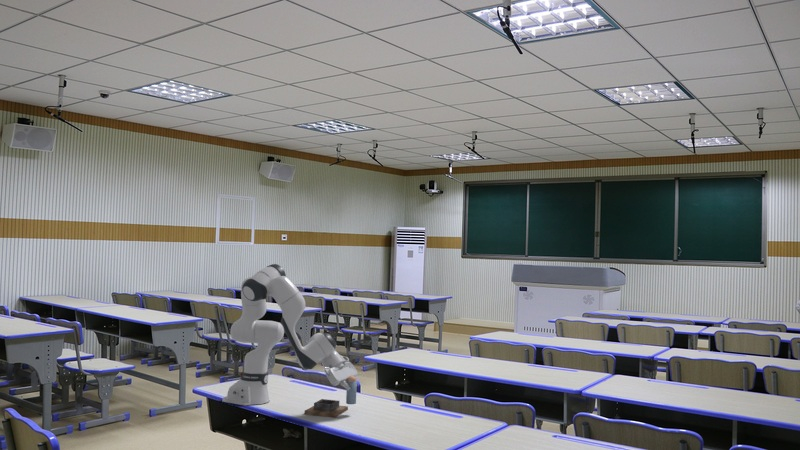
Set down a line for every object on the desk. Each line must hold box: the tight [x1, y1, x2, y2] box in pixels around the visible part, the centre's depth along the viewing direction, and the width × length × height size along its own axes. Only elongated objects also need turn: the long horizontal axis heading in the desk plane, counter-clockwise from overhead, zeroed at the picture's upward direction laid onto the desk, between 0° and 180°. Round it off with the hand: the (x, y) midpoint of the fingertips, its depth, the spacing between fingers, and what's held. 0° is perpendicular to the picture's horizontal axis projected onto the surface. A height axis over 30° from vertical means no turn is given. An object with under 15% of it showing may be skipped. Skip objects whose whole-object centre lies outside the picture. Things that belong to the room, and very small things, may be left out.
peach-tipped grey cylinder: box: [345, 376, 358, 405], centre depth 279 cm, size 4×4×12 cm
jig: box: [304, 398, 349, 419], centre depth 282 cm, size 15×15×4 cm
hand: (352, 388), depth 279 cm, fingers closed on peach-tipped grey cylinder, 4 cm apart
